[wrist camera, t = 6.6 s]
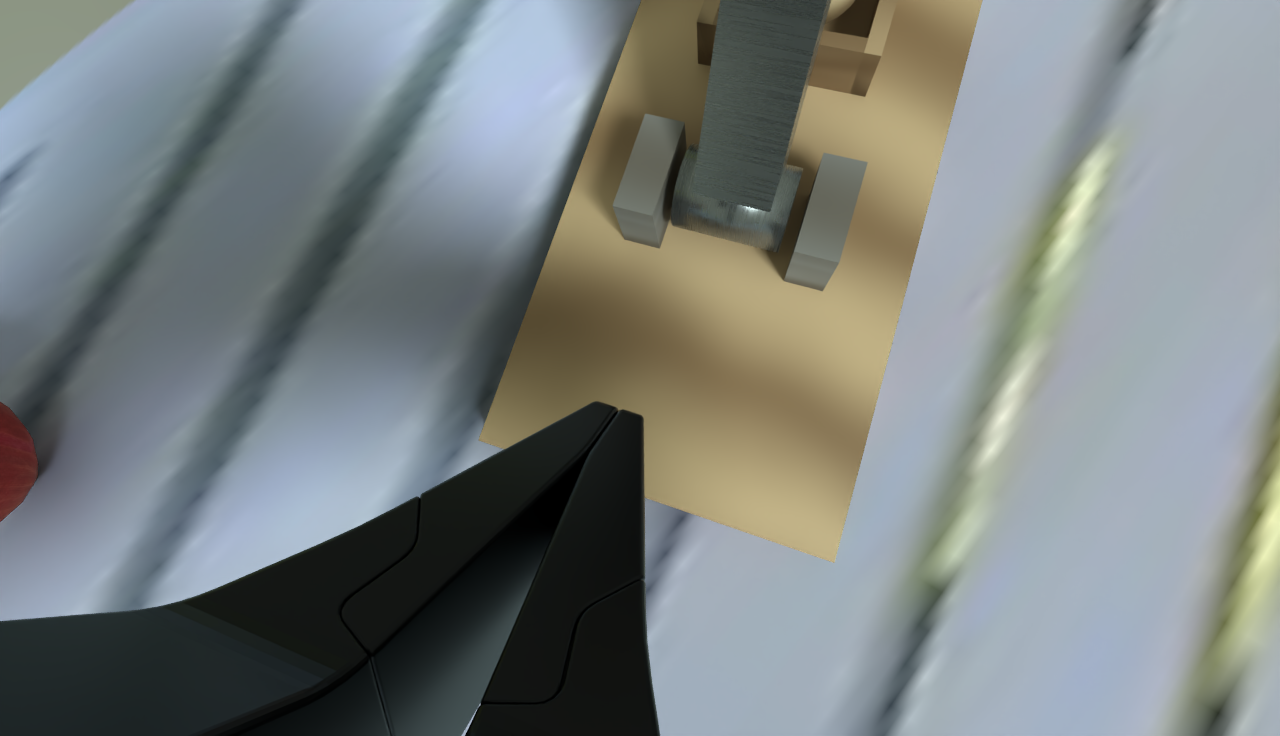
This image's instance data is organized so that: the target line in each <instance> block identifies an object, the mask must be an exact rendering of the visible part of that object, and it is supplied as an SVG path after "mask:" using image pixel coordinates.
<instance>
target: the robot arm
mask: <svg viewBox="0 0 1280 736" xmlns="http://www.w3.org/2000/svg"><path fill="white" fill-rule="evenodd" d="M644 581H645V488H644V418H643V416H642V415H640V414H637V413H634V412H631V411H628V410H625V409H622V410H618V408H617V407H615V406H612V405H609V404H606V403H603V402H599V401H595V402H592V403H590V404H588V405H586V406H584V407H582V408H581V409H579V410H577V411H575V412H573V413H571V414H569V415H568V416H566V417H564V418H562V419H560V420H558V421H556V422H554V423H553V424H551V425H549V426H547V427H545V428H543V429H541V430H540V431H538V432H536V433H534V434H532V435H530V436H528V437H526V438H525V439H523V440H521V441H519V442H517V443H515V444H513V445H512V446H510V447H508V448H506V449H504V450H502V451H500V452H498V453H497V454H495V455H493V456H491V457H489V458H487V459H485V460H484V461H482V462H480V463H478V464H476V465H474V466H472V467H471V468H469V469H467V470H465V471H463V472H461V473H459V474H457V475H456V476H454V477H452V478H450V479H448V480H446V481H444V482H443V483H441V484H439V485H437V486H435V487H433V488H431V489H429V490H428V491H426V492H424V493H422V494H421V496H420V498H419V497H414V498H412V499H410V500H409V501H407V502H405V503H403V504H401V505H399V506H397V507H395V508H394V509H392V510H390V511H388V512H386V513H384V514H382V515H380V516H378V517H376V518H374V519H372V520H370V521H368V522H366V523H364V524H362V525H360V526H358V527H356V528H354V529H351V530H349V531H347V532H345V533H343V534H340V535H338V536H336V537H334V538H331V539H329V540H327V541H325V542H323V543H320V544H318V545H316V546H314V547H311V548H309V549H307V550H304V551H302V552H300V553H297V554H295V555H293V556H290V557H288V558H286V559H283V560H281V561H279V562H276V563H274V564H272V565H269V566H267V567H265V568H262V569H260V570H258V571H255V572H253V573H251V574H248V575H246V576H244V577H241V578H239V579H237V580H234V581H232V582H230V583H227V584H225V585H223V586H220V587H218V588H216V589H213V590H210V591H208V592H205V593H203V594H200V595H197V596H194V597H191V598H188V599H185V600H182V601H179V602H175V603H171V604H167V605H163V606H158V607H152V608H147V609H140V610H131V611H120V612H108V613H95V614H83V615H71V616H58V617H46V618H34V619H21V620H9V621H0V736H461V735H462V733H463V732H464V730H465V728H466V727H467V725H468V723H469V721H470V720H471V718H472V716H473V715H474V713H475V711H476V709H477V708H478V709H477V712H476V714H475V716H474V718H473V720H472V723H471V725H470V727H469V729H468V731H467V733H466V735H465V736H660V731H659V725H658V718H657V711H656V705H655V698H654V692H653V685H652V677H651V669H650V661H649V652H648V643H647V625H646V584H645V582H644ZM480 703H481V706H479V704H480ZM478 706H479V707H478Z"/></svg>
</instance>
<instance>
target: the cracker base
mask: <svg viewBox="0 0 1280 736" xmlns="http://www.w3.org/2000/svg"><path fill="white" fill-rule="evenodd" d="M981 4H982V0H855V1H854V3H853V4H852V5H851V6H850V7H849V8H848V9H847V10H846V11H845V12H844V13H843V14H841V15H840V16H839V17H837V18H836V19H834V20H832V21H831V22H829V23H827V24H825V25H824V29H823V33H822V36H821V40H820V44H819V47H818V51H817V55H816V58H815V62H814V66H813V69H812V73H811V77H810V80H809V84H808V88H807V91H806V95H805V99H804V102H803V106H802V110H801V113H800V117H799V121H798V124H797V128H796V132H795V135H794V139H793V143H792V146H791V150H790V154H789V157H788V161H787V164H788V165H792V166H797V167H801V168H804V169H803V172H802V176H801V179H800V182H799V186H798V189H797V192H796V196H795V199H794V202H793V206H792V209H791V212H790V216H789V219H788V222H787V226H786V229H785V232H784V236H783V239H782V242H781V245H780V249H779V252H778V253H776V252H772V251H769V250H765V249H761V248H757V247H753V246H749V245H745V244H741V243H737V242H733V241H729V240H725V239H721V238H717V237H713V236H709V235H705V234H701V233H697V232H694V231H690V230H686V229H682V228H678V227H674V226H672V223H671V209H672V201H673V195H674V190H675V185H676V181H677V177H678V174H679V170H680V167H681V164H682V161H683V158H684V156H685V154H686V151H687V149H688V148H689V146H690V145H691V144H692V143H694V144H699V142H700V135H701V128H702V122H703V115H704V108H705V101H706V94H707V88H708V81H709V74H710V67H711V60H712V53H713V47H714V40H715V33H716V26H717V19H718V13H719V6H720V0H641V2H640V5H639V8H638V11H637V13H636V16H635V19H634V21H633V24H632V27H631V29H630V32H629V35H628V38H627V40H626V43H625V46H624V48H623V51H622V54H621V56H620V59H619V62H618V65H617V67H616V70H615V73H614V75H613V78H612V81H611V84H610V86H609V89H608V92H607V94H606V97H605V100H604V102H603V105H602V108H601V111H600V113H599V116H598V119H597V121H596V124H595V127H594V129H593V132H592V135H591V138H590V140H589V143H588V146H587V148H586V151H585V154H584V156H583V159H582V162H581V165H580V167H579V170H578V173H577V175H576V178H575V181H574V183H573V186H572V189H571V192H570V194H569V197H568V200H567V202H566V205H565V208H564V210H563V213H562V216H561V219H560V221H559V224H558V227H557V229H556V232H555V235H554V238H553V240H552V243H551V246H550V248H549V251H548V254H547V256H546V259H545V262H544V265H543V267H542V270H541V273H540V275H539V278H538V281H537V283H536V286H535V289H534V292H533V294H532V297H531V300H530V302H529V305H528V308H527V310H526V313H525V316H524V319H523V321H522V324H521V327H520V329H519V332H518V335H517V337H516V340H515V343H514V346H513V348H512V351H511V354H510V356H509V359H508V362H507V364H506V367H505V370H504V373H503V375H502V378H501V381H500V383H499V386H498V389H497V392H496V394H495V397H494V400H493V402H492V405H491V408H490V410H489V413H488V416H487V419H486V421H485V424H484V427H483V429H482V432H481V435H480V437H479V441H482V442H485V443H488V444H491V445H494V446H497V447H500V448H502V449H506V448H508V447H510V446H512V445H513V444H515V443H517V442H519V441H521V440H523V439H525V438H526V437H528V436H530V435H532V434H534V433H536V432H538V431H540V430H541V429H543V428H545V427H547V426H549V425H551V424H553V423H554V422H556V421H558V420H560V419H562V418H564V417H566V416H568V415H569V414H571V413H573V412H575V411H577V410H579V409H581V408H582V407H584V406H586V405H588V404H590V403H592V402H595V401H599V402H603V403H606V404H609V405H612V406H615V407H617V408H618V410H622V409H625V410H628V411H631V412H634V413H637V414H640V415H642V416H643V418H644V488H645V498H648V499H650V500H653V501H656V502H659V503H662V504H665V505H668V506H671V507H674V508H677V509H680V510H682V511H685V512H688V513H691V514H694V515H697V516H700V517H703V518H706V519H709V520H711V521H714V522H717V523H720V524H723V525H726V526H729V527H732V528H735V529H738V530H740V531H743V532H746V533H749V534H752V535H755V536H758V537H761V538H764V539H767V540H769V541H772V542H775V543H778V544H781V545H784V546H787V547H790V548H793V549H796V550H799V551H801V552H804V553H807V554H810V555H813V556H816V557H819V558H822V559H825V560H828V561H830V562H833V563H834V562H835V558H836V554H837V550H838V547H839V543H840V539H841V535H842V531H843V528H844V524H845V520H846V516H847V512H848V509H849V505H850V501H851V497H852V494H853V490H854V486H855V482H856V478H857V475H858V471H859V467H860V463H861V459H862V456H863V452H864V448H865V444H866V440H867V437H868V433H869V429H870V425H871V421H872V418H873V414H874V410H875V406H876V402H877V399H878V395H879V391H880V387H881V383H882V380H883V376H884V372H885V368H886V364H887V361H888V357H889V353H890V349H891V346H892V342H893V338H894V334H895V330H896V327H897V323H898V319H899V315H900V311H901V308H902V304H903V300H904V296H905V292H906V289H907V285H908V281H909V277H910V273H911V270H912V266H913V262H914V258H915V254H916V251H917V247H918V243H919V239H920V235H921V232H922V228H923V224H924V220H925V216H926V213H927V209H928V205H929V201H930V197H931V194H932V190H933V186H934V182H935V179H936V175H937V171H938V167H939V163H940V160H941V156H942V152H943V148H944V144H945V141H946V137H947V133H948V129H949V125H950V122H951V118H952V114H953V110H954V106H955V103H956V99H957V95H958V91H959V87H960V84H961V80H962V76H963V72H964V68H965V65H966V61H967V57H968V53H969V49H970V46H971V42H972V38H973V34H974V31H975V27H976V23H977V19H978V15H979V12H980V8H981Z"/></svg>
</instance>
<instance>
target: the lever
mask: <svg viewBox="0 0 1280 736" xmlns="http://www.w3.org/2000/svg"><path fill="white" fill-rule="evenodd" d="M830 3H831V0H720V6H719V13H718V19H717V26H716V33H715V40H714V47H713V53H712V60H711V67H710V74H709V81H708V88H707V94H706V101H705V108H704V115H703V122H702V128H701V135H700V142H699V144H694V143H692V144H691V145H690V146H689V148H688V149H687V151H686V154H685V156H684V158H683V161H682V164H681V167H680V170H679V174H678V177H677V181H676V185H675V190H674V195H673V201H672V209H671V223H672V226H674V227H678V228H682V229H686V230H690V231H694V232H697V233H701V234H705V235H709V236H713V237H717V238H721V239H725V240H729V241H733V242H737V243H741V244H745V245H749V246H753V247H757V248H761V249H765V250H769V251H772V252H776V253H778V252H779V249H780V245H781V242H782V239H783V236H784V232H785V229H786V226H787V222H788V219H789V216H790V212H791V209H792V206H793V202H794V199H795V196H796V192H797V189H798V186H799V182H800V179H801V176H802V172H803V169H804V168H801V167H797V166H792V165H788V164H787V161H788V157H789V154H790V150H791V146H792V143H793V139H794V135H795V132H796V128H797V124H798V121H799V117H800V113H801V110H802V106H803V102H804V99H805V95H806V91H807V88H808V84H809V80H810V77H811V73H812V69H813V66H814V62H815V58H816V55H817V51H818V47H819V44H820V40H821V36H822V33H823V29H824V25H825V22H826V18H827V14H828V11H829V7H830Z"/></svg>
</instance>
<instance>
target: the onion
mask: <svg viewBox="0 0 1280 736" xmlns="http://www.w3.org/2000/svg"><path fill="white" fill-rule="evenodd" d="M37 476H38V461H37V456H36V452H35V447H34V442H33V439H32V437H31V436H30V434H29V432H28V431H27V429H26V427H25V426H24V425H23V424H22V422H21V421H20V420H19V419H18V418H17V416H16V415H15V414H14V413H13V412H12V410H11V409H10V408H9V407H7V406H6V405H4V404H3V403H1V402H0V522H1V521H2V520H3V519H4V518H5V517H6V516H7V515H9V514H10V513H11V512H12V511H13V510H14V509H15V508H16V507H17V506H19V505H20V504H21V503H22V502H23V500H24V499H25V497H26V496H27V494H28V492H29V491H30V489H31V487H32V486H33V485H34V482H35V481H36V479H37Z"/></svg>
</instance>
